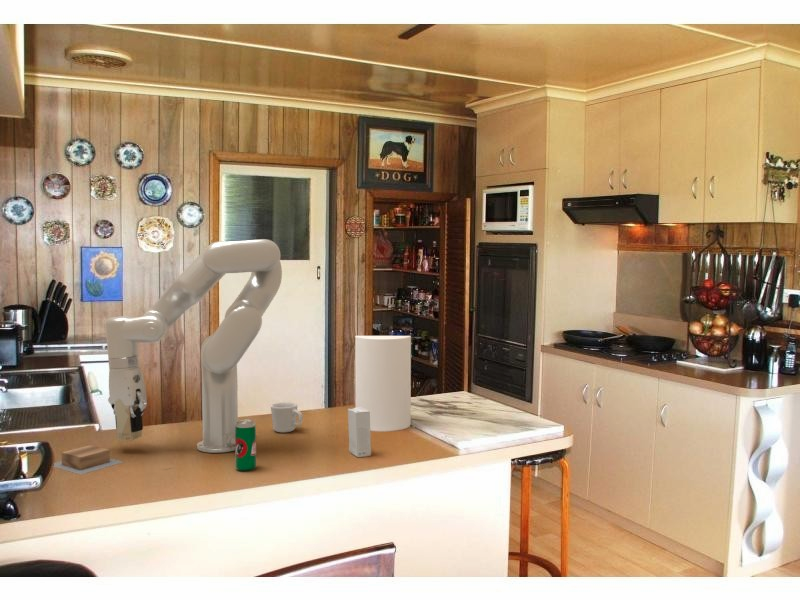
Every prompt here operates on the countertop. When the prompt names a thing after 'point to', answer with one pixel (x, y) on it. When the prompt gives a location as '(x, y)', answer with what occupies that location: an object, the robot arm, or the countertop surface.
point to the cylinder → (384, 380)
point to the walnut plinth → (85, 457)
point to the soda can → (245, 445)
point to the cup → (285, 416)
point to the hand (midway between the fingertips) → (129, 429)
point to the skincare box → (359, 432)
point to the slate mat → (111, 463)
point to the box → (125, 422)
